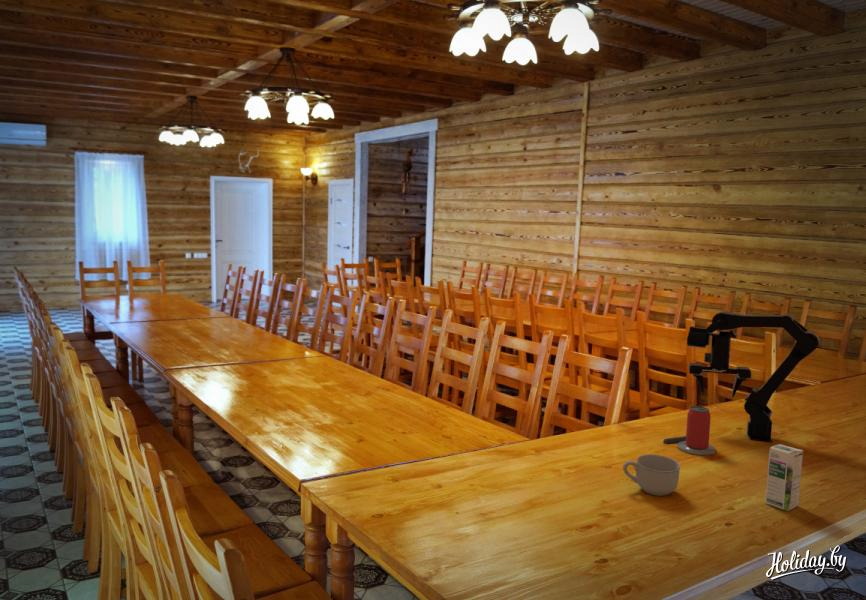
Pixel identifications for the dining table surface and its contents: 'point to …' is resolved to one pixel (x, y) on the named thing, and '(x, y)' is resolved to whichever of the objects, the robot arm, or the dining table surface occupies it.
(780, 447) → the syrup box
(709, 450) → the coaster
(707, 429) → the beer can
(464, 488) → the dining table surface
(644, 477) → the teacup
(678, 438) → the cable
